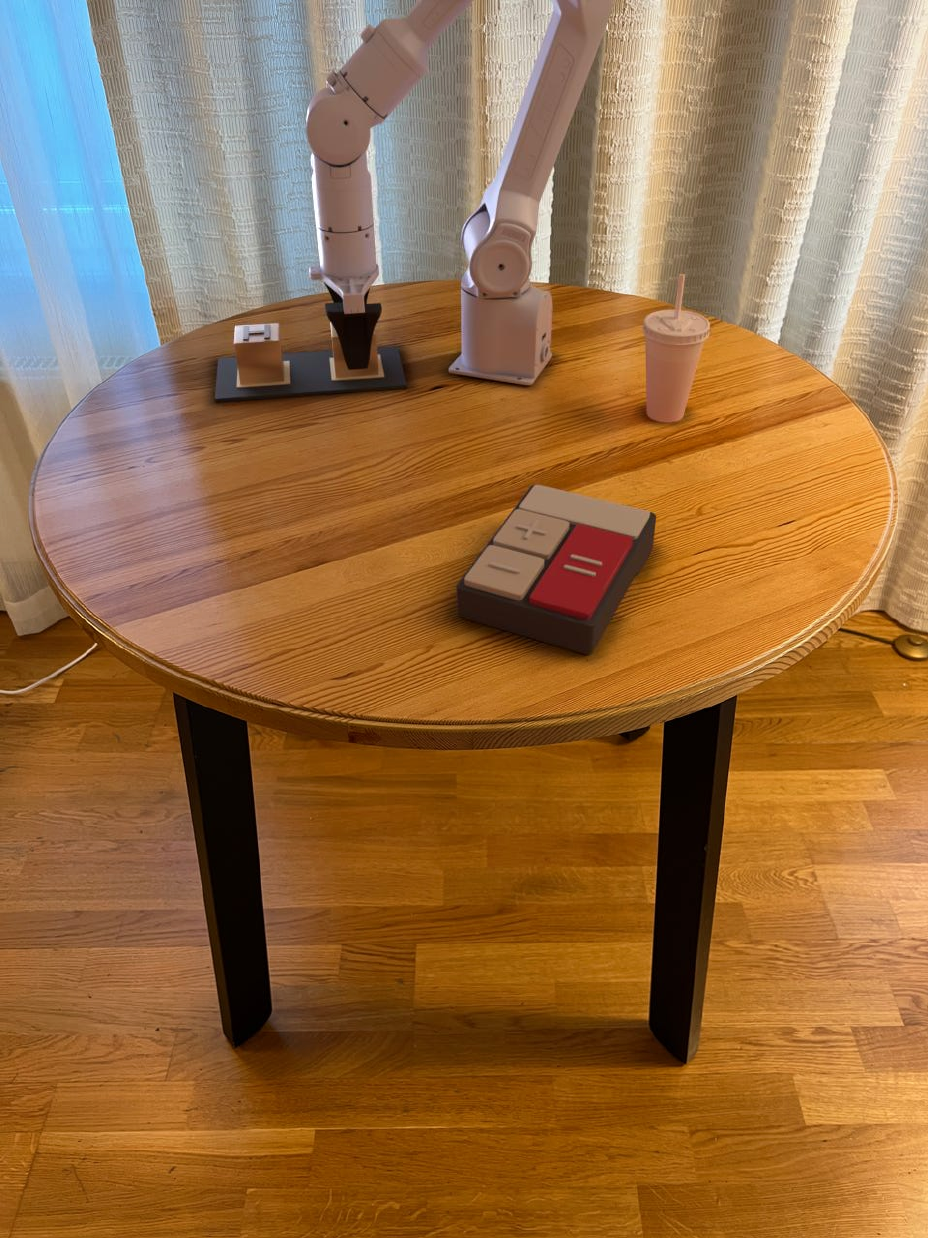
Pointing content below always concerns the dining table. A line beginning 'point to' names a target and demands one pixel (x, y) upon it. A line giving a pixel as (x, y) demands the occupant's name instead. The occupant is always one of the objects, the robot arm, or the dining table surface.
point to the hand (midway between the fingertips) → (355, 352)
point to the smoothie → (672, 358)
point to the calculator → (557, 568)
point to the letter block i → (340, 363)
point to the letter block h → (259, 353)
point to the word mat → (310, 377)
